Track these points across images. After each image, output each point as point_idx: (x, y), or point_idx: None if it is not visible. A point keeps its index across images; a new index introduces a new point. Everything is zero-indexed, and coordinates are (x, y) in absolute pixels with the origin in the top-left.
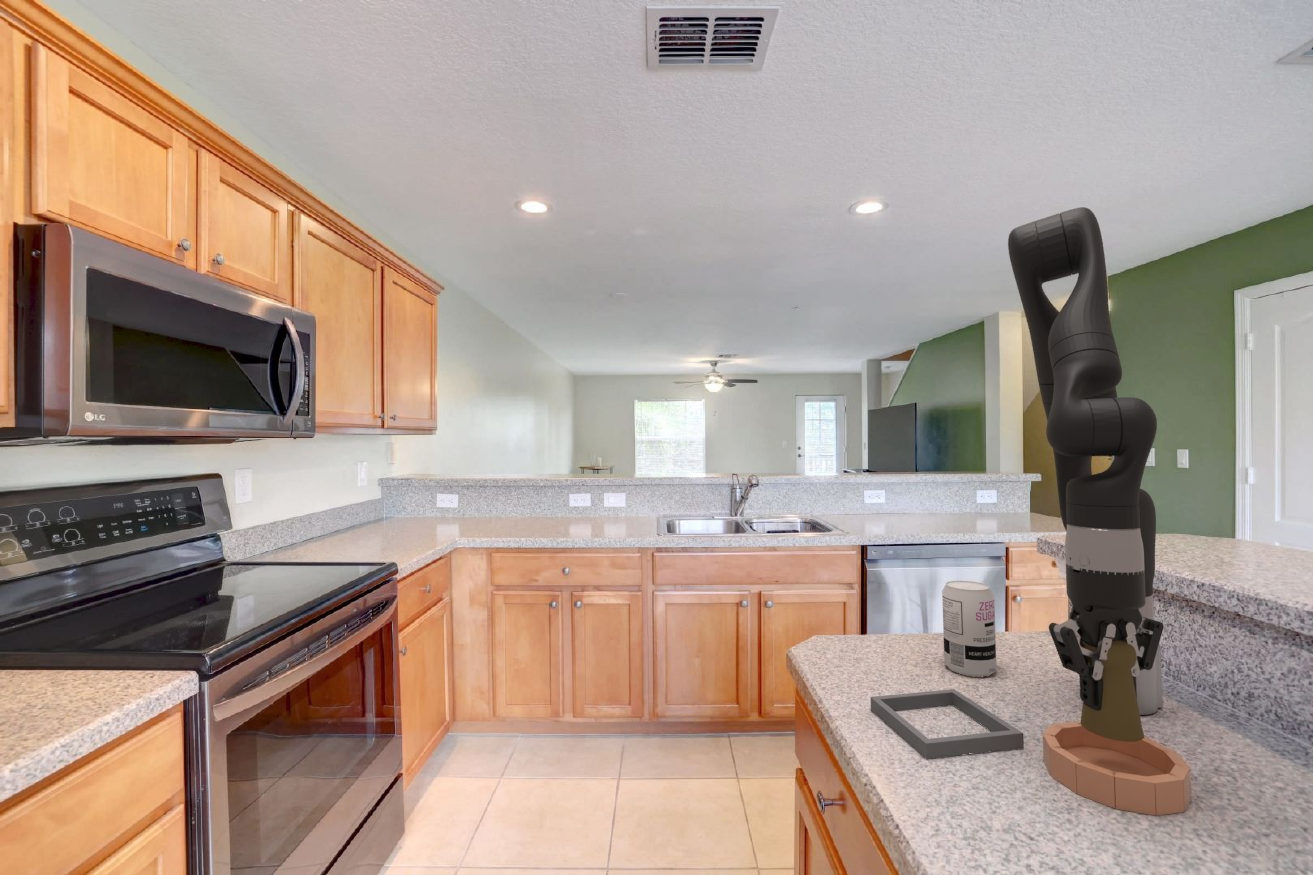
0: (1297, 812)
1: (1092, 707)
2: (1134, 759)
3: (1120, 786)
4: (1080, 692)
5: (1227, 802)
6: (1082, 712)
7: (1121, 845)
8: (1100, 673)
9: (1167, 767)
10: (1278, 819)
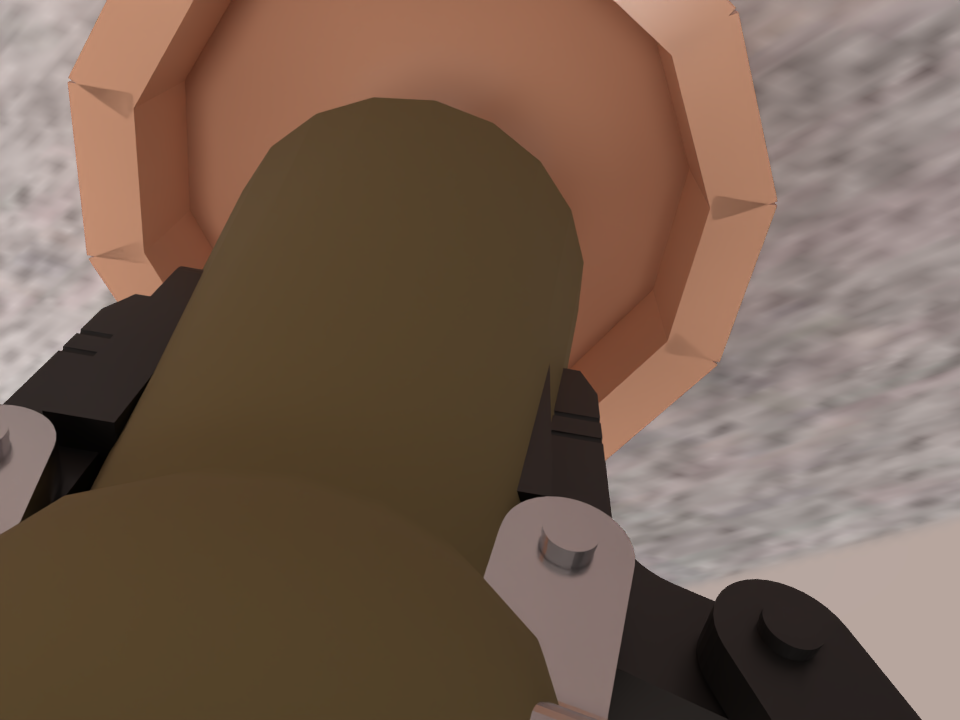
0: (838, 539)
1: None
2: (650, 162)
3: None
4: (84, 329)
5: (692, 437)
6: (242, 198)
7: None
8: None
9: (633, 331)
10: (724, 535)
